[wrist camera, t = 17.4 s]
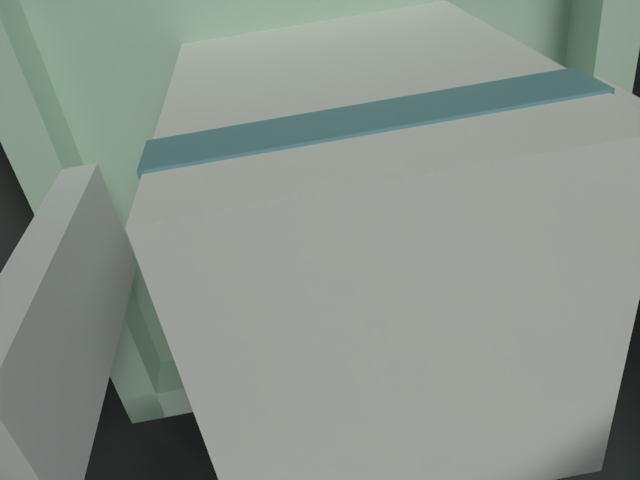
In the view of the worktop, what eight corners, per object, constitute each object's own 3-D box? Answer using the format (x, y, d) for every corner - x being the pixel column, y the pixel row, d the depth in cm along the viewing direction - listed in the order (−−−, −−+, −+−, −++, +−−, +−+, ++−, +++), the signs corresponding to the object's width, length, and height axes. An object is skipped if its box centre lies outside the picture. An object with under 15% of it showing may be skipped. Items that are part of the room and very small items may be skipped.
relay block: (236, 265, 16) (239, 544, 9) (179, 42, 13) (119, 224, 6) (449, 226, 16) (603, 471, 9) (448, -2, 13) (682, 125, 6)
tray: (140, 379, 18) (131, 423, 17) (-82, -141, 11) (-134, -144, 9) (561, 299, 19) (590, 335, 17) (631, -248, 11) (692, -268, 10)
